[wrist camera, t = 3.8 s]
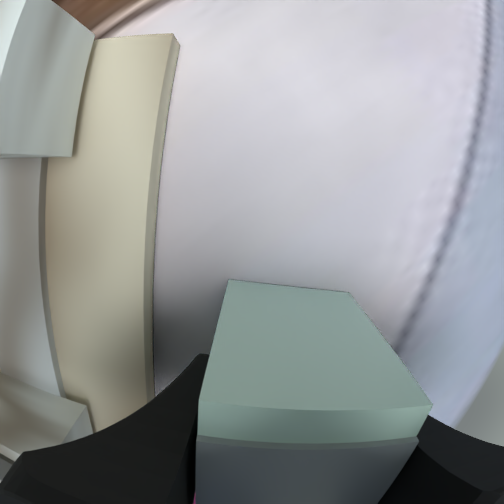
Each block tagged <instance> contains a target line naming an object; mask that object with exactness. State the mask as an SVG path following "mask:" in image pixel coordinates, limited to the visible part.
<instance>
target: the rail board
mask: <svg viewBox="0 0 504 504" xmlns="http://www.w3.org/2000/svg"><path fill="white" fill-rule="evenodd" d="M94 37H95V35H94V34H93V33H92V32H91V31H90V30H88V29H87V28H86V27H85V26H83V25H82V24H81V23H80V22H78V21H77V20H76V19H75V18H73V17H72V16H71V15H70V14H68V13H67V12H66V11H64V10H63V9H62V8H61V7H59V6H58V5H57V4H55V3H54V2H53V1H51V0H0V482H1V481H2V479H3V478H4V476H5V475H6V474H7V472H8V471H9V469H10V468H11V466H12V465H13V463H14V462H15V461H16V460H17V458H18V457H19V456H20V455H21V454H22V453H23V452H24V451H31V450H36V449H41V448H46V447H51V446H56V445H60V444H64V443H67V442H70V441H74V440H77V439H80V438H83V437H85V436H88V435H91V434H93V433H96V432H98V431H100V430H103V429H105V428H107V427H109V426H111V425H113V424H115V423H116V422H118V421H120V420H122V419H124V418H126V417H127V416H129V415H131V414H132V413H134V412H135V411H137V410H138V409H140V408H141V407H143V406H144V405H146V404H147V403H148V402H150V401H151V400H152V399H153V398H155V393H154V371H153V269H154V247H155V229H156V215H157V202H158V191H159V181H160V171H161V162H162V153H163V145H164V137H165V130H166V123H167V116H168V110H169V103H170V97H171V91H172V85H173V79H174V74H175V69H176V63H177V58H178V53H179V48H180V45H179V43H178V41H177V39H176V38H175V36H174V34H173V33H171V34H148V35H135V36H124V37H114V38H106V39H99V40H94Z"/></svg>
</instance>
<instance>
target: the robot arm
mask: <svg viewBox="0 0 504 504" xmlns="http://www.w3.org/2000/svg"><path fill="white" fill-rule="evenodd" d="M209 356H210V355H207V354H199V355H197V356H196V357H195V359H194V360H193V361H192V362H191V364H190V365H189V366H188V367H187V368H186V369H185V370H184V371H183V372H182V373H181V374H180V375H179V376H178V377H177V378H176V379H175V380H174V381H173V382H172V383H171V384H170V385H169V386H168V387H167V388H166V389H164V390H163V391H162V392H161V393H160V394H158V395H157V396H156V397H155V398H153V399H152V400H151V401H150V402H148V403H147V404H146V405H144V406H143V407H141V408H140V409H138V410H137V411H135V412H134V413H132V414H131V415H129V416H127V417H126V418H124V419H122V420H120V421H118V422H116V423H115V424H113V425H111V426H109V427H107V428H105V429H103V430H100V431H98V432H96V433H93V434H91V435H88V436H85V437H83V438H80V439H77V440H74V441H70V442H67V443H64V444H60V445H56V446H51V447H46V448H41V449H36V450H31V451H24V452H23V453H22V454H21V455H20V456H19V457H18V458H17V460H16V461H15V462H14V463H13V465H12V466H11V468H10V469H9V471H8V472H7V474H6V475H5V476H4V478H3V479H2V481H1V483H0V504H193V503H194V496H195V490H196V439H197V433H198V405H199V397H200V393H201V389H202V384H203V380H204V376H205V372H206V368H207V364H208V360H209ZM417 438H418V440H419V442H418V444H417V446H416V447H415V449H414V451H413V452H412V454H411V456H410V457H409V459H408V460H407V462H406V463H405V465H404V466H403V468H402V470H401V471H400V473H399V474H398V475H397V477H396V478H395V480H394V481H393V483H392V484H391V486H390V487H389V488H388V490H387V491H386V492H385V494H384V495H383V497H382V498H381V499H380V501H379V502H378V503H377V504H504V447H503V446H499V445H495V444H492V443H488V442H485V441H482V440H479V439H476V438H474V437H471V436H469V435H466V434H464V433H462V432H459V431H457V430H455V429H453V428H451V427H449V426H447V425H445V424H443V423H442V422H440V421H438V420H436V419H434V418H433V417H431V416H429V415H428V416H427V418H426V420H425V421H424V423H423V425H422V427H421V429H420V431H419V432H418V434H417Z"/></svg>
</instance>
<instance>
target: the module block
mask: <svg viewBox="0 0 504 504" xmlns="http://www.w3.org/2000/svg"><path fill="white" fill-rule="evenodd" d="M432 406H433V404H432V402H431V401H430V400H429V398H428V397H427V395H426V394H425V393H424V391H423V390H422V388H421V387H420V386H419V384H418V383H417V381H416V380H415V379H414V377H413V376H412V375H411V373H410V372H409V370H408V369H407V368H406V366H405V365H404V364H403V362H402V361H401V360H400V358H399V357H398V356H397V354H396V353H395V352H394V350H393V349H392V348H391V346H390V345H389V344H388V342H387V341H386V340H385V338H384V337H383V336H382V334H381V333H380V332H379V330H378V329H377V328H376V327H375V325H374V324H373V323H372V321H371V320H370V319H369V317H368V316H367V315H366V314H365V312H364V311H363V310H362V309H361V307H360V306H359V305H358V303H357V302H356V301H355V300H354V298H353V297H352V296H351V295H350V293H349V292H339V291H329V290H319V289H310V288H300V287H291V286H282V285H273V284H264V283H256V282H247V281H239V280H231V279H229V280H228V284H227V288H226V292H225V296H224V300H223V304H222V308H221V312H220V316H219V320H218V324H217V328H216V332H215V336H214V340H213V344H212V348H211V352H210V356H209V360H208V364H207V368H206V372H205V376H204V380H203V384H202V389H201V393H200V397H199V405H198V433H197V439H196V490H195V500H196V504H377V503H378V502H379V501H380V499H381V498H382V497H383V495H384V494H385V492H386V491H387V490H388V488H389V487H390V486H391V484H392V483H393V481H394V480H395V478H396V477H397V475H398V474H399V473H400V471H401V470H402V468H403V466H404V465H405V463H406V462H407V460H408V459H409V457H410V456H411V454H412V452H413V451H414V449H415V447H416V446H417V444H418V442H419V440H418V438H417V434H418V432H419V431H420V429H421V427H422V425H423V423H424V421H425V420H426V418H427V416H428V414H429V412H430V410H431V408H432Z"/></svg>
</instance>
